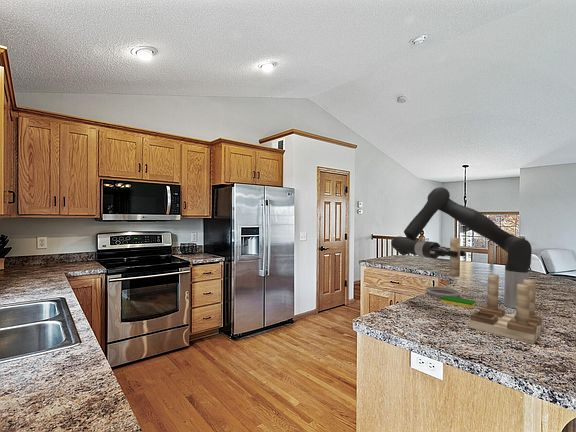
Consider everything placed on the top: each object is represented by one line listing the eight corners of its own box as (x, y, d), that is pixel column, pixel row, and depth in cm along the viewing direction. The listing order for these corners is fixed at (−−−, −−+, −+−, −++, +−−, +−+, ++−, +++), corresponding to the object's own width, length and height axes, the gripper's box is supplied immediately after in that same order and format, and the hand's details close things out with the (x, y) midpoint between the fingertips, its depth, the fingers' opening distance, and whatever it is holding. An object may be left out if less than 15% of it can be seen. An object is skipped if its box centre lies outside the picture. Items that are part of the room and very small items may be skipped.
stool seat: (483, 316, 137) (485, 272, 136) (542, 329, 122) (544, 280, 122) (469, 327, 123) (470, 278, 122) (533, 343, 108) (535, 288, 108)
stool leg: (454, 274, 136) (455, 237, 136) (461, 276, 133) (462, 238, 132) (447, 275, 135) (448, 237, 135) (454, 277, 132) (454, 238, 131)
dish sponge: (444, 300, 163) (444, 295, 163) (475, 305, 153) (475, 300, 153) (440, 302, 157) (440, 298, 157) (471, 309, 148) (472, 303, 148)
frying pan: (464, 286, 184) (457, 295, 161) (463, 291, 184) (457, 301, 161) (432, 281, 193) (422, 289, 170) (432, 286, 193) (421, 295, 170)
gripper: (416, 241, 144) (449, 245, 128) (438, 240, 150) (472, 244, 134) (416, 258, 144) (449, 264, 128) (438, 256, 150) (472, 262, 134)
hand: (460, 254), depth 131 cm, fingers closed on stool leg, 3 cm apart
